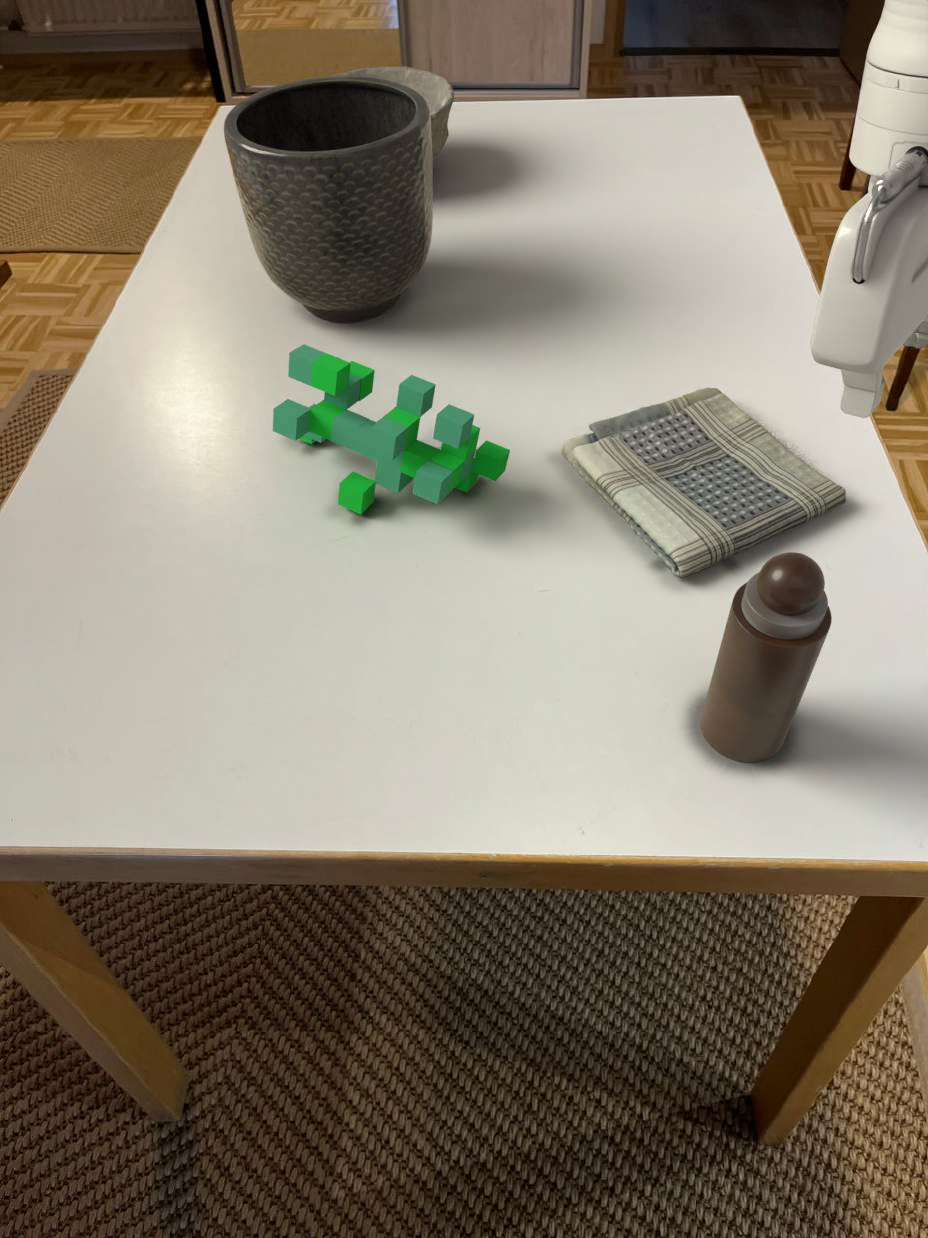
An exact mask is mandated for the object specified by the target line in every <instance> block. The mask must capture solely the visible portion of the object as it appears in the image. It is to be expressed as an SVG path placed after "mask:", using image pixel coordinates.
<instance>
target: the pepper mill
mask: <svg viewBox="0 0 928 1238" xmlns="http://www.w3.org/2000/svg"><path fill="white" fill-rule="evenodd" d="M825 585H826V581H825V576H824V572H823V570H822V568H821V567H820V566H819V564H818V563H817V561H815V560H814V559H813V558H812V557H810V556H808V555H806V554H804V553H800V552H795V551H790V552H789V551H788V552H782V553H778V554H777V555H774V556H772V557H771V558H770V559H769V560H767V561H766V562H765V563H764V565H763V566H762V567H761V569H760V571H758V572H757V573H755V574H754V575H753V576H751V577H750V578H749V580H748V581H746V582H745V583H743V584H742V585H741V586H740V587H739V588H738V589H737V590H736V592H735V594H734V595H733V598H732V602H731V606H730V609H729V612H728V617H727V620H726V625H725V627H724V630H723V635H722V639H721V642H720V646H719V649H718V653H717V657H716V661H715V664H714V668H713V671H712V675H711V679H710V683H709V686H708V690H707V693H706V697H705V701H704V704H703V708H702V712H701V716H700V730H701V732H702V735H703V737H704V739H705V740H706V742H707V743H708V744H709V746H710V747H711V748H712V749H714V750H715V751H716V752H717V753H719V754H720V755H722V756H723V757H726V758H728V759H730V760H733V761H737V762H741V763H742V762H743V763H758V762H762V761H765V760H766V761H767V760H768V759H770V758H772V757H773V756H775V755H776V754H777V753H778V752H779V751H780V750H781V749H782V747H783V745H784V743H785V741H786V738H787V736H788V733H789V730H790V728H791V727H792V726H791V725H792V723H793V720H794V717H795V715H796V713H797V711H798V708H799V706H800V703H801V701H802V698H803V696H804V694H805V691H806V688H807V686H808V683H809V681H810V679H811V676H812V673H813V672H814V669H815V667H816V665H817V664H816V663H817V661H818V658H819V656H820V654H821V651H822V649H823V647H824V644H825V641H826V639H827V636H828V633H829V632H830V629H831V625H832V620H833V618H832V612H831V608H830V606H829V599H828V595H827V593H826V591H825Z"/></svg>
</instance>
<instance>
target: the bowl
mask: <svg viewBox="0 0 928 1238" xmlns="http://www.w3.org/2000/svg"><path fill="white" fill-rule="evenodd" d="M332 76H360V77H372V78H378V79H384V80H389V81H393V82H397V83H399V84H402V85H405V86H407V87H409V88H411V89H413V90H415V91H416V92H417V93H419V94H420V95H421V96H422V97H423V98H424V99H425V100H426V102H427V104H428V107H429V111H430V117H431V140H432V158H433V160H434V159H435V158H436V157H437V156H438V155H439V154H440V152H441V151H442V150H443V148H444V146H445V144H446V142H447V140H448V137H449V135H450V133H449V127H448V123H449V118H450V113H451V109H452V107H453V103H454V101H455V91H454V87H453V85H451V84H450V83H449V82H448V81H447V79H445V77H443V76H441V75H438V74H436V73H433V72H430V71H428V70H426V69H425V70H424V69H420V68H415V67H409V66H378V67H367V68H357V69H355V70H348V71H344V72H340V73H336V74H333V75H330V76H329V77H332Z"/></svg>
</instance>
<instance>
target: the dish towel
mask: <svg viewBox="0 0 928 1238" xmlns="http://www.w3.org/2000/svg"><path fill="white" fill-rule="evenodd" d="M588 427H589V429H590V430H591V431H592V432H591V433H586V434H582V435H580V436H578V437H573V438H569V439H568V440H566V441H565V442H563V444H562V449H561V450H560V453H561V455H562V456H563V457H564V458H565V459H566V461H568V463H569V464H570V465H571V466H572V467H573V469H574V470H575V471H576V472H577V474H578V475H579V476H580V477H581V478H583V479H584V480H585V481H586V483H588V484H589V485H590V486H591V487H592V488H593V489H594V490H595V491H596V492H597V493H598V494H599V496H601V497H602V498H603V499H604V501H606V502H607V503H608V505H610V506H611V508H613V509H614V510H615V511H616V513H618V514H619V515H620V516H621V517H622V518H623V520H625V522H626V523H627V524H628V525H629V527H630V528H631V530H633V531H634V533H636V534H637V535H638V537H639V538H640V539H642V541H643V542H644V543H645V545H647V546H648V547H649V548H650V549H651V550H652V552H654V554H655V555H657V556H658V557H659V559H660V560H661V561H662V562H663V563H664V564H665V565H666V566H667V567H668V568H669V570H670V571H671V573H672V575H673V576H674V577H675V578H683V577H687V576H690V575H691V574H694V573H697V572H699V571H702V570H703V569H707V568H708V567H710V566H713V565H715V564H717V563H719V562H721V561H723V560H725V559H728V558H731V557H733V556H734V555H737V554H739V553H741V552H744V551H746V550H748V549H751V548H753V547H755V546H757V545H759V544H761V543H763V542H765V541H766V542H767V540H770V539H772V538H773V537H776V536H778V535H781V534H783V533H786V532H788V531H791V530H792V529H795V528H797V527H799V526H801V525H803V524H806V523H808V522H810V521H812V520H813V521H814V520H815V519H817V518H819V517H821V516H824V515H825V514H828V513H829V512H831V511H833V510H834V509H836V508H839V507H841V506H843V505H845V504H846V502H847V495H846V493H847V490H846V489H845V487H843V486H842V485H839V484H837V483H836V482H834V481H833V480H831V479H829V478H828V477H826V476H825V475H823V474H822V473H820V472H819V471H818V470H817V469H815V468H813V467H812V466H811V465H810V464H808V463H807V462H805V461H804V460H803V459H802V458H801V457H799V456H798V455H796V454H795V453H794V452H793V451H791V450H790V449H788V448H787V447H786V446H785V445H784V444H783V443H782V442H781V441H780V440H779V439H777V438H776V436H774V435H773V434H772V433H771V432H770V431H768V430H767V429H766V428H765V427H764V426H762V425H761V424H760V423H759V422H757V421H756V420H754V419H753V418H751V417H750V416H749V415H748V414H747V413H746V412H744V411H743V410H742V409H741V408H740V407H738V406H737V405H736V404H735V402H734V401H732V399H730V397H729V396H727V395H726V394H725V393H723V392H722V391H721V390H720V389H719V388H717V387H703V388H700V389H696V390H695V391H691V392H689V393H685V394H683V395H681V396H679V397H676V398H672V399H670V400H667V401H664V402H661V403H655V404H651V405H648V406H643V407H640V408H638V409H636V410H632V411H629V412H626V413H622V414H620V415H617V416H613V417H610V418H605V419H601V420H598V421H594V422H592V423H589V424H588Z"/></svg>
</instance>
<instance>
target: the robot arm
mask: <svg viewBox="0 0 928 1238" xmlns="http://www.w3.org/2000/svg"><path fill="white" fill-rule="evenodd" d="M860 85H861V86H860V90H859V97H858V101H857V108H856V114H855V119H854V125H853V130H852V136H851V142H850V148H849V153H848V157H849V161H850V162H851V164H852V165H853V167H855V168H856V169H858V170H859V171H861V172H863V173H865V174H867V175H869V176H870V177H869V182H868V187H867V193H866V194H865V195H864V196H862V197H861V198H860V199H859V200H858V201H857V202H856V203H854V204H853V205H852V206H851V207H850V208H849V210H847V212H846V213H845V215H844V216H843V218H842V220H841V222H840V223H839V226H838V228H837V231H836V233H835V236H834V239H833V243H832V246H831V248H830V252H829V257H828V260H827V264H826V268H825V271H824V275H823V280H822V284H821V289H820V293H819V294H820V295H819V298H818V302H817V307H816V311H815V317H814V320H813V325H812V332H811V336H810V351H811V355H812V359H813V360H814V362H816V363H817V364H819V365H822V366H826V367H830V368H833V369H837V370H840V373H841V377H842V384H843V390H842V394H841V400H840V404H839V406H840V410H841V412H843V413H844V414H846V415H850V416H852V417H853V416H854V417H858V418H862V419H867V418H869V417H871V416H872V414H873V413H874V412H875V410H876V409H877V408H878V406H879V405H880V404H881V401H882V395H883V393H884V389H885V386H886V379H883V375H884V369H885V366H886V365H887V363H888V362H889V361H890V360H891V359H892V357H894V355H896V352H898V350H899V349H900V348H901V347H903V346H905V347H913V348H915V349H920V350H922V349H924V348H926V347H927V346H928V0H884V4H883V8H882V12H881V15H880V18H879V20H878V24H877V26H876V28H875V30H874V32H873V34H872V37H871V40H870V42H869V45H868V48H867V52H866V57H865V62H864V68H863V74H862V80H861V84H860Z"/></svg>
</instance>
